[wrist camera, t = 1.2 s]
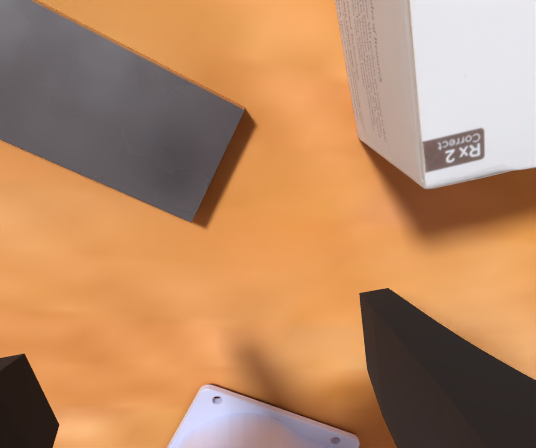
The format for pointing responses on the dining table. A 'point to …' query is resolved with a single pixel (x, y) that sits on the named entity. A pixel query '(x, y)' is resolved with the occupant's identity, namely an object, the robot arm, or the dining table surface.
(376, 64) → the skincare box
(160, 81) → the carrier plate
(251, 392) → the dining table surface
